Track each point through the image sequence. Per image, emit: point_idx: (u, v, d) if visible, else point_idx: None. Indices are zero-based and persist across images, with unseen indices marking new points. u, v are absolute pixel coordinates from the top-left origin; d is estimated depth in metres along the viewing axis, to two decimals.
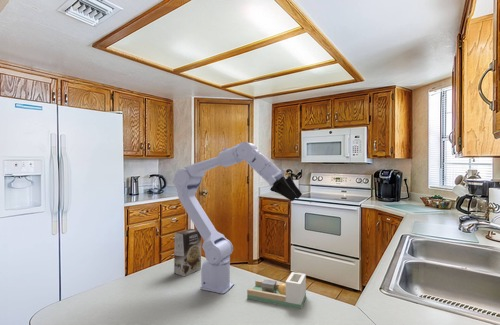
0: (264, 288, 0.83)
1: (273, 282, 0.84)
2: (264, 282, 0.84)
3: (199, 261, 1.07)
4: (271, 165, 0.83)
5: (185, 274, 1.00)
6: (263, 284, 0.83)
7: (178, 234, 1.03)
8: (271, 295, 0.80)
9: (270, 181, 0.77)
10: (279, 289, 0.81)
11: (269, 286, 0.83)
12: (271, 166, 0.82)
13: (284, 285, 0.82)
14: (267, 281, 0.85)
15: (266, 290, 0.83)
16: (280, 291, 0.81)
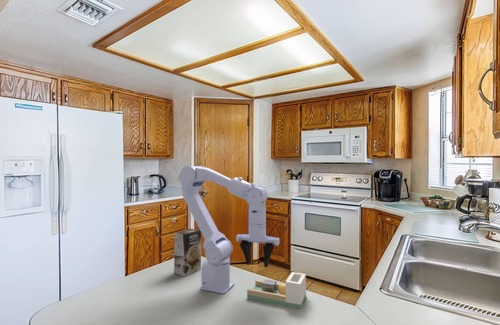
0: (264, 288, 0.83)
1: (273, 282, 0.84)
2: (264, 282, 0.84)
3: (199, 261, 1.07)
4: None
5: (185, 274, 1.00)
6: (263, 284, 0.83)
7: (178, 234, 1.03)
8: (271, 295, 0.80)
9: (278, 242, 0.83)
10: (279, 289, 0.81)
11: (269, 286, 0.83)
12: None
13: (284, 285, 0.82)
14: (267, 281, 0.85)
15: (266, 290, 0.83)
16: (280, 291, 0.81)
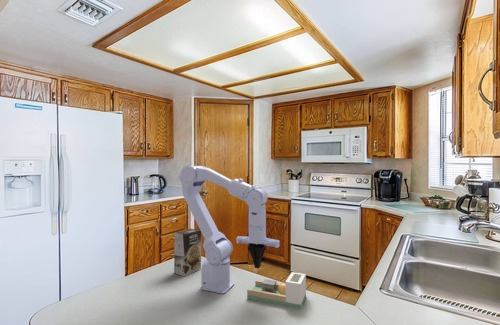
0: (264, 288, 0.83)
1: (273, 282, 0.84)
2: (264, 282, 0.84)
3: (199, 261, 1.07)
4: None
5: (185, 274, 1.00)
6: (263, 284, 0.83)
7: (178, 234, 1.03)
8: (271, 295, 0.80)
9: (278, 244, 0.83)
10: (279, 289, 0.81)
11: (269, 286, 0.83)
12: None
13: (284, 285, 0.82)
14: (267, 281, 0.85)
15: (266, 290, 0.83)
16: (280, 291, 0.81)
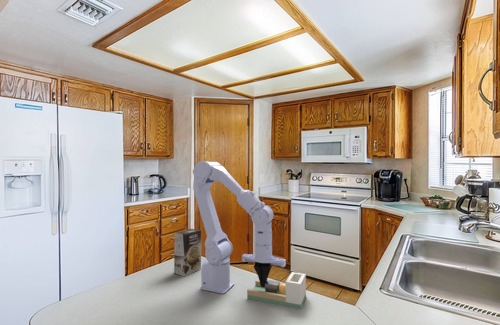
0: (267, 289, 0.83)
1: (276, 283, 0.83)
2: (267, 283, 0.84)
3: (199, 261, 1.07)
4: None
5: (185, 274, 1.00)
6: (266, 285, 0.83)
7: (178, 234, 1.03)
8: (271, 295, 0.80)
9: (284, 263, 0.82)
10: (280, 289, 0.81)
11: (272, 287, 0.82)
12: None
13: (285, 285, 0.82)
14: (270, 282, 0.84)
15: (269, 291, 0.83)
16: (280, 291, 0.81)
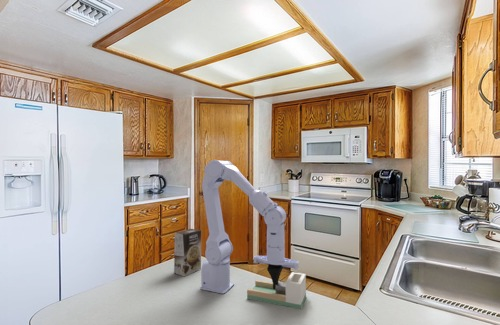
0: (278, 290, 0.81)
1: None
2: (278, 284, 0.82)
3: (199, 261, 1.07)
4: None
5: (185, 274, 1.00)
6: (277, 286, 0.82)
7: (178, 234, 1.03)
8: (271, 295, 0.80)
9: (297, 265, 0.80)
10: None
11: (283, 289, 0.81)
12: None
13: None
14: (281, 283, 0.83)
15: (280, 293, 0.81)
16: None
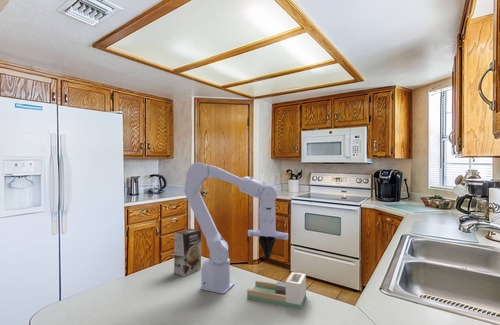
0: (278, 290, 0.81)
1: None
2: (277, 284, 0.82)
3: (199, 261, 1.07)
4: None
5: (185, 274, 1.00)
6: (277, 286, 0.82)
7: (178, 234, 1.03)
8: (271, 295, 0.80)
9: (287, 236, 0.90)
10: None
11: (283, 289, 0.81)
12: None
13: None
14: (280, 283, 0.83)
15: (280, 293, 0.81)
16: None
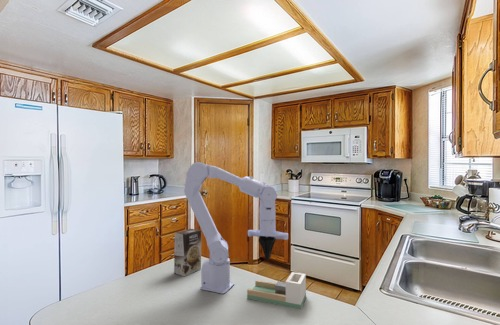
0: (278, 290, 0.81)
1: None
2: (277, 284, 0.82)
3: (199, 261, 1.07)
4: None
5: (185, 274, 1.00)
6: (277, 286, 0.82)
7: (178, 234, 1.03)
8: (271, 295, 0.80)
9: (287, 236, 0.90)
10: None
11: (283, 289, 0.81)
12: None
13: None
14: (280, 283, 0.83)
15: (280, 293, 0.81)
16: None
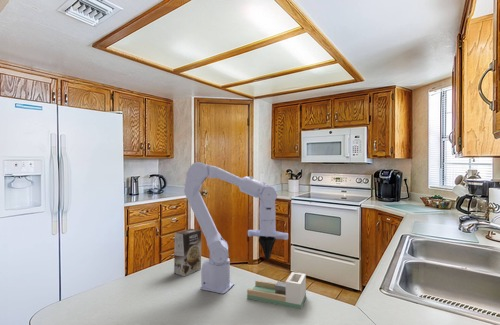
0: (278, 290, 0.81)
1: None
2: (277, 284, 0.82)
3: (199, 261, 1.07)
4: None
5: (185, 274, 1.00)
6: (277, 286, 0.82)
7: (178, 234, 1.03)
8: (271, 295, 0.80)
9: (287, 236, 0.90)
10: None
11: (283, 289, 0.81)
12: None
13: None
14: (280, 283, 0.83)
15: (280, 293, 0.81)
16: None
